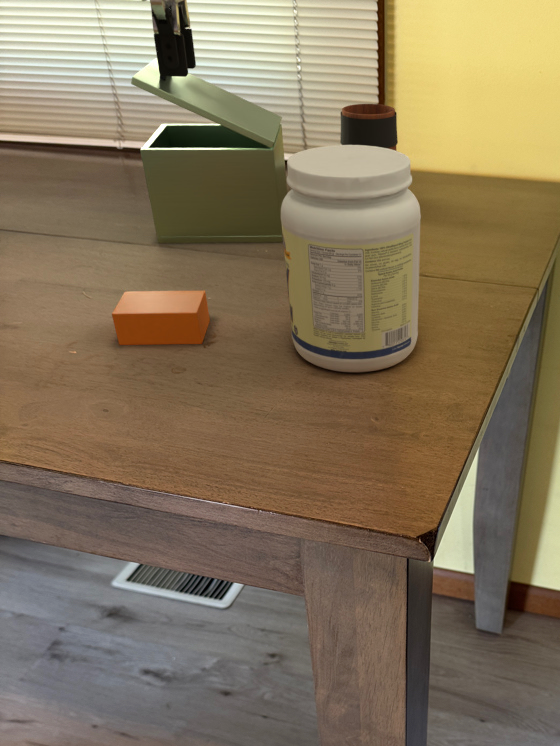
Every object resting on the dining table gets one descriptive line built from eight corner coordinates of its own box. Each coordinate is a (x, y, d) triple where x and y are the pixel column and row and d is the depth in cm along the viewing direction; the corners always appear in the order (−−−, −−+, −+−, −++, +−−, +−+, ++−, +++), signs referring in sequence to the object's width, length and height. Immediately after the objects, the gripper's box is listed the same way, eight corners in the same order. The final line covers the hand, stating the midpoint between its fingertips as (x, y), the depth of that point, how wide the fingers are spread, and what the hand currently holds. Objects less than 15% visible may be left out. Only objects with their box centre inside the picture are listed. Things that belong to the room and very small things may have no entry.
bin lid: (130, 84, 84) (140, 31, 81) (154, 64, 94) (164, 16, 91) (272, 148, 89) (286, 101, 86) (280, 123, 99) (293, 79, 96)
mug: (384, 183, 117) (384, 97, 110) (406, 205, 108) (407, 114, 101) (330, 186, 115) (326, 99, 108) (347, 210, 106) (344, 117, 99)
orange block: (119, 345, 73) (111, 313, 71) (131, 321, 78) (124, 291, 75) (202, 344, 74) (196, 312, 72) (210, 320, 78) (205, 290, 76)
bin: (158, 243, 95) (139, 149, 88) (177, 210, 106) (161, 123, 99) (282, 242, 96) (273, 149, 89) (288, 209, 106) (281, 123, 100)
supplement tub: (313, 316, 79) (300, 138, 68) (427, 327, 77) (433, 145, 66) (275, 370, 70) (254, 173, 59) (404, 383, 68) (407, 184, 57)
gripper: (131, -132, 84) (159, 60, 96) (92, -140, 71) (130, 83, 83) (199, -128, 85) (219, 62, 96) (173, -136, 71) (200, 85, 83)
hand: (178, 69), depth 89 cm, fingers closed on bin lid, 5 cm apart
